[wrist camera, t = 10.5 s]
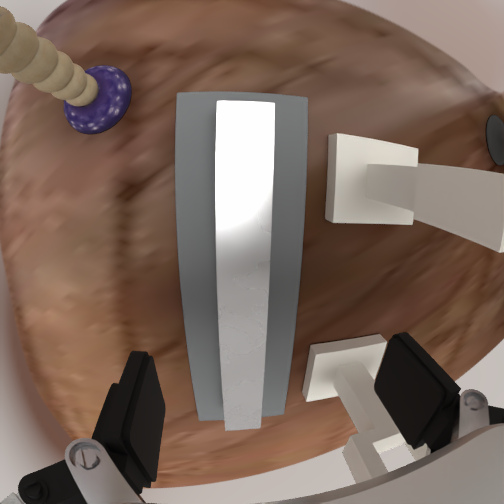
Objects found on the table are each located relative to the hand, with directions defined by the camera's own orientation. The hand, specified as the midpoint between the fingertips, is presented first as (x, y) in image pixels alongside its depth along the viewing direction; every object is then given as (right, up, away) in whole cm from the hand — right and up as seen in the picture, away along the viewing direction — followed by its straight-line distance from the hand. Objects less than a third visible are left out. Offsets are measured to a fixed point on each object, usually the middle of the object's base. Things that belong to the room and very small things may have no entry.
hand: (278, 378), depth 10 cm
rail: (-2, +2, +5) cm, 6 cm away
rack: (+6, +2, +8) cm, 11 cm away
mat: (-2, +2, +7) cm, 8 cm away
